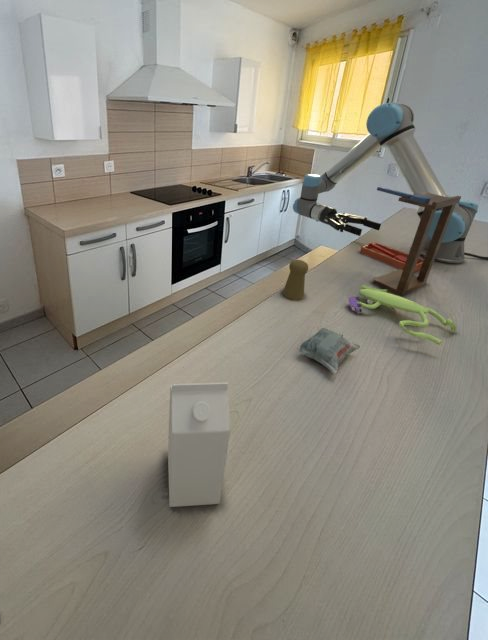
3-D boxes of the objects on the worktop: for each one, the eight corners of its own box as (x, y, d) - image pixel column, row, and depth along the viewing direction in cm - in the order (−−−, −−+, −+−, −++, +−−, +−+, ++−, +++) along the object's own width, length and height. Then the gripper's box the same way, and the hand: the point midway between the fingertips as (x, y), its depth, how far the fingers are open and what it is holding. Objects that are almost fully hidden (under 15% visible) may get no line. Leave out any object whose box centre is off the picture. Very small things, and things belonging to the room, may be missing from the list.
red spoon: (366, 245, 128) (367, 242, 127) (372, 243, 130) (373, 240, 130) (404, 265, 117) (406, 262, 117) (410, 263, 119) (412, 260, 119)
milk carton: (167, 456, 51) (170, 363, 43) (212, 453, 52) (222, 362, 44) (169, 508, 44) (173, 409, 37) (220, 504, 45) (233, 407, 38)
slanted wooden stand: (372, 283, 105) (400, 194, 94) (397, 272, 113) (425, 188, 102) (402, 297, 98) (437, 202, 86) (427, 284, 106) (461, 196, 94)
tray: (359, 252, 128) (361, 246, 127) (373, 247, 133) (375, 242, 132) (411, 273, 113) (413, 267, 112) (424, 267, 118) (427, 260, 117)
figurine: (424, 361, 73) (433, 342, 71) (330, 299, 95) (334, 283, 93) (467, 340, 81) (476, 321, 79) (371, 287, 103) (376, 272, 100)
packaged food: (357, 355, 74) (362, 338, 72) (333, 381, 66) (338, 363, 64) (321, 336, 80) (325, 319, 78) (295, 358, 72) (299, 340, 70)
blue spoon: (373, 190, 101) (374, 186, 100) (382, 189, 103) (384, 185, 102) (423, 203, 88) (424, 198, 88) (432, 202, 90) (434, 197, 90)
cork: (301, 290, 99) (308, 258, 95) (305, 301, 94) (313, 267, 90) (281, 288, 100) (287, 256, 96) (284, 299, 94) (291, 265, 90)
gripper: (339, 218, 152) (384, 233, 136) (304, 226, 139) (349, 244, 123) (342, 203, 149) (389, 216, 133) (307, 209, 136) (354, 225, 120)
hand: (370, 229), depth 128 cm, fingers open, 13 cm apart
